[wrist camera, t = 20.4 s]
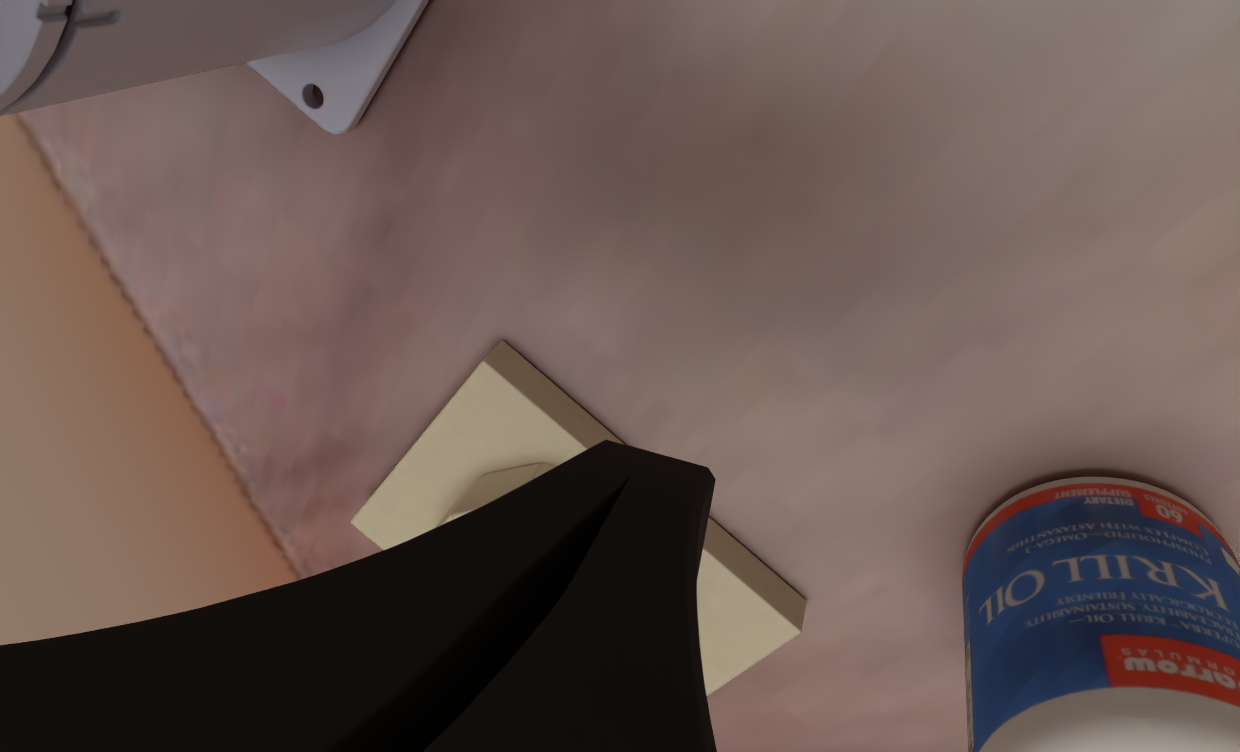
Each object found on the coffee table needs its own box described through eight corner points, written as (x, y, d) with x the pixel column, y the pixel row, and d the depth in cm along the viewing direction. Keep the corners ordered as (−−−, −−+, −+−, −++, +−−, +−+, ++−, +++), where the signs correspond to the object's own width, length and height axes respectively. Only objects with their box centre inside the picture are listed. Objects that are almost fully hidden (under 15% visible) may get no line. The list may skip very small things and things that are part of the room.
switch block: (372, 498, 25) (310, 563, 23) (502, 339, 22) (447, 395, 19) (638, 717, 26) (608, 805, 24) (807, 600, 23) (793, 688, 20)
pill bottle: (1200, 440, 18) (1444, 893, 10) (1254, 646, 20) (1502, 1184, 11) (925, 497, 20) (930, 902, 12) (993, 677, 22) (1040, 1143, 14)
